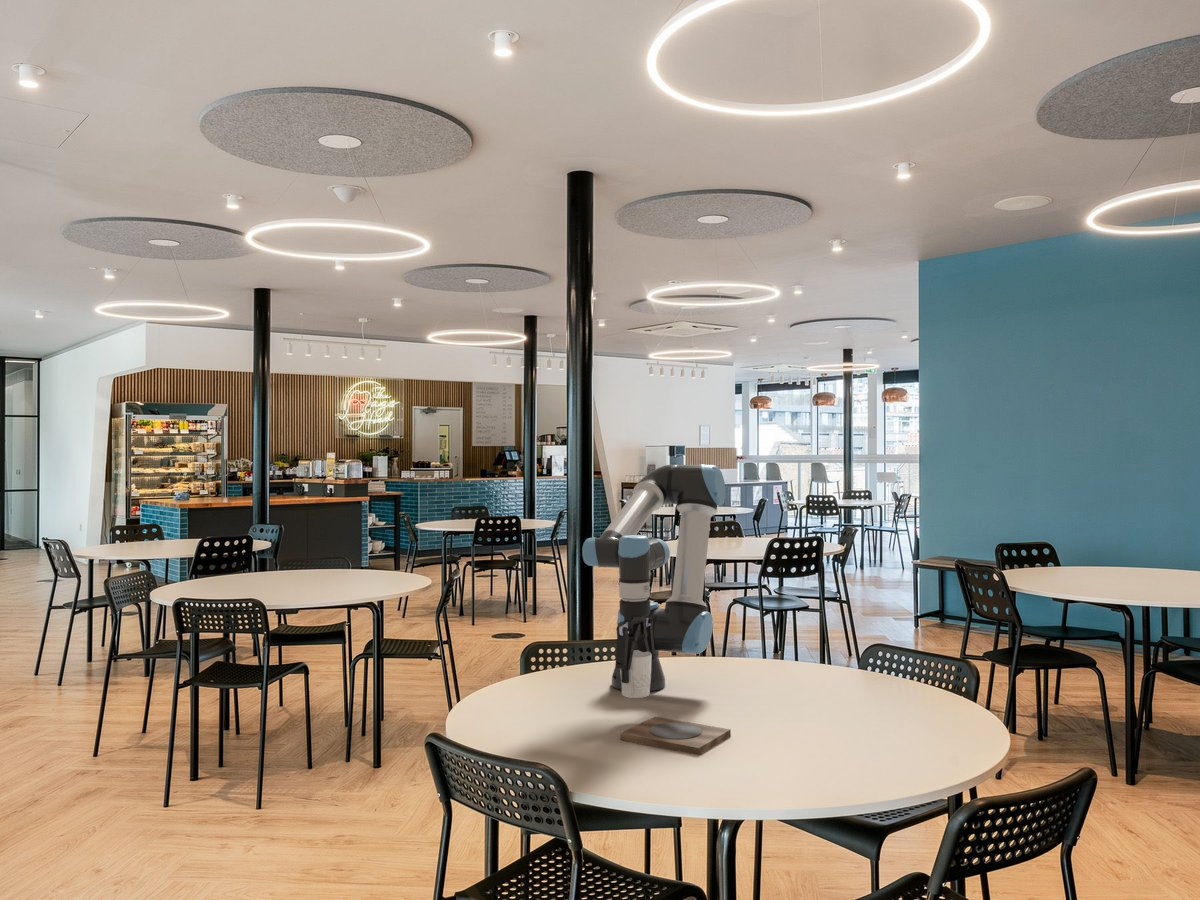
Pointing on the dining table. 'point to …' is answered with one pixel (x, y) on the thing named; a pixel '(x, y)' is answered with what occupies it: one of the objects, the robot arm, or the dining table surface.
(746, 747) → the dining table surface
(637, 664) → the white cup
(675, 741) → the board
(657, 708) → the dining table surface
